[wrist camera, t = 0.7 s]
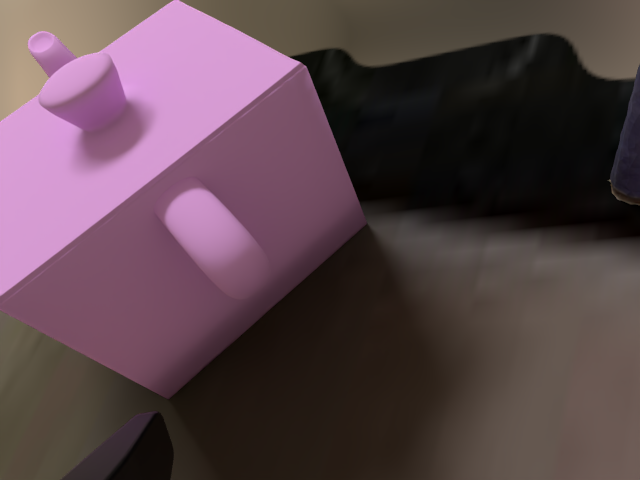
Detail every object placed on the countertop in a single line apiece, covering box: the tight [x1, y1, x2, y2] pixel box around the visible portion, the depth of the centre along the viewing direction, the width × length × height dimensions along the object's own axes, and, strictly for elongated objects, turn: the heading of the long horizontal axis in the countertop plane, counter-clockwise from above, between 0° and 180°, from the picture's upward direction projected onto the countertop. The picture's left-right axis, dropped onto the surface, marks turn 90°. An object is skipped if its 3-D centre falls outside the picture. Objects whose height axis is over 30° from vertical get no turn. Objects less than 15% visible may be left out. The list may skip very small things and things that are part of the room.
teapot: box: [0, 0, 367, 400], centre depth 27 cm, size 15×25×14 cm, turn 38°
